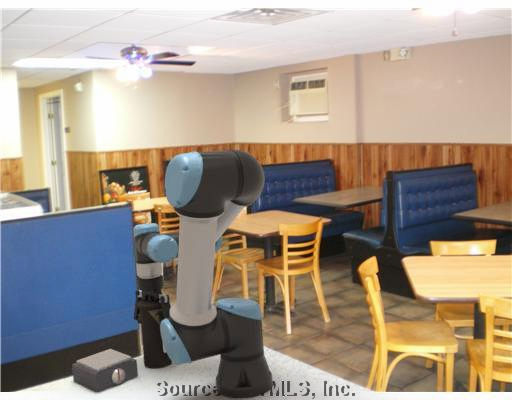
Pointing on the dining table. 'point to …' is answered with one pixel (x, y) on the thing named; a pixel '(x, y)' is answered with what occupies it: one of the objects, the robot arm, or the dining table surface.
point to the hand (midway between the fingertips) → (156, 347)
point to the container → (152, 335)
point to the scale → (104, 370)
